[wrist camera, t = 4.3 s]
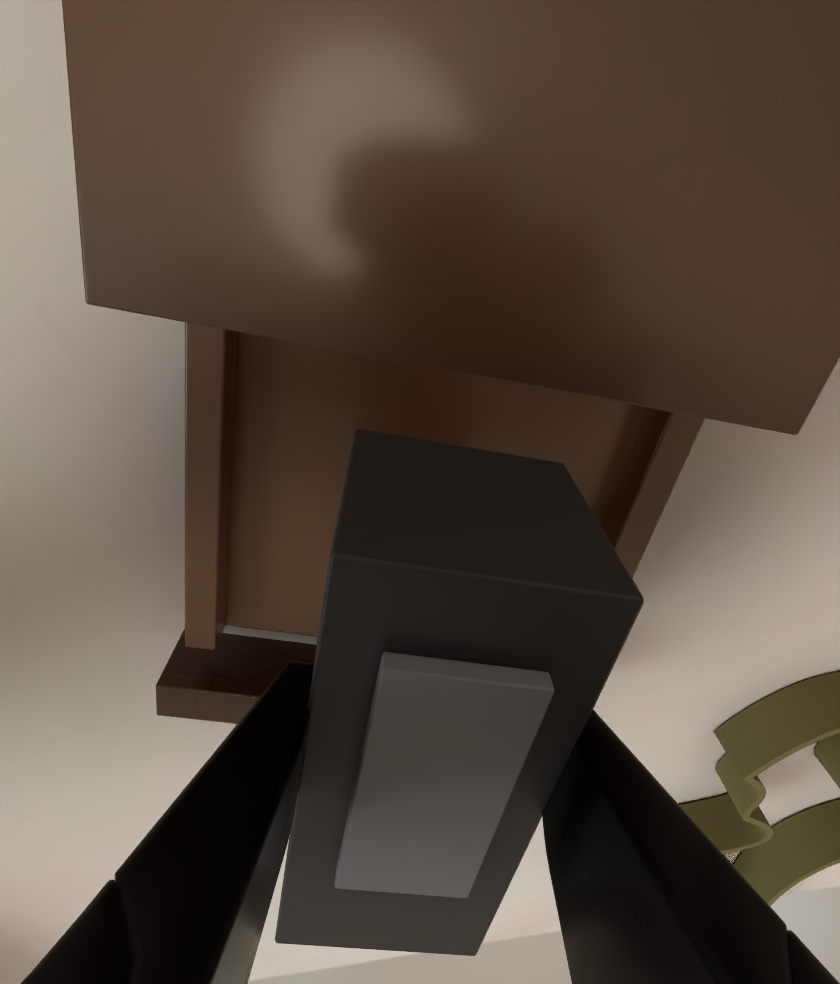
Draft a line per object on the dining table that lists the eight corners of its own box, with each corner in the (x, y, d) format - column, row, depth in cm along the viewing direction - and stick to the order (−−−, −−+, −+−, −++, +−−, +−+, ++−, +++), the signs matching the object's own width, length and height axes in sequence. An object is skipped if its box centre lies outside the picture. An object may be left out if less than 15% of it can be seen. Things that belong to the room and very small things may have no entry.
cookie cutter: (1092, 806, 21) (1038, 759, 23) (944, 655, 17) (893, 612, 19) (698, 990, 27) (680, 942, 29) (523, 910, 23) (515, 859, 25)
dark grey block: (458, 770, 13) (478, 978, 10) (306, 755, 13) (270, 966, 9) (564, 461, 9) (658, 618, 6) (356, 426, 9) (326, 571, 6)
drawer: (525, 777, 21) (538, 840, 19) (184, 742, 20) (158, 806, 18) (735, 292, 13) (797, 310, 11) (184, 174, 12) (137, 170, 10)
